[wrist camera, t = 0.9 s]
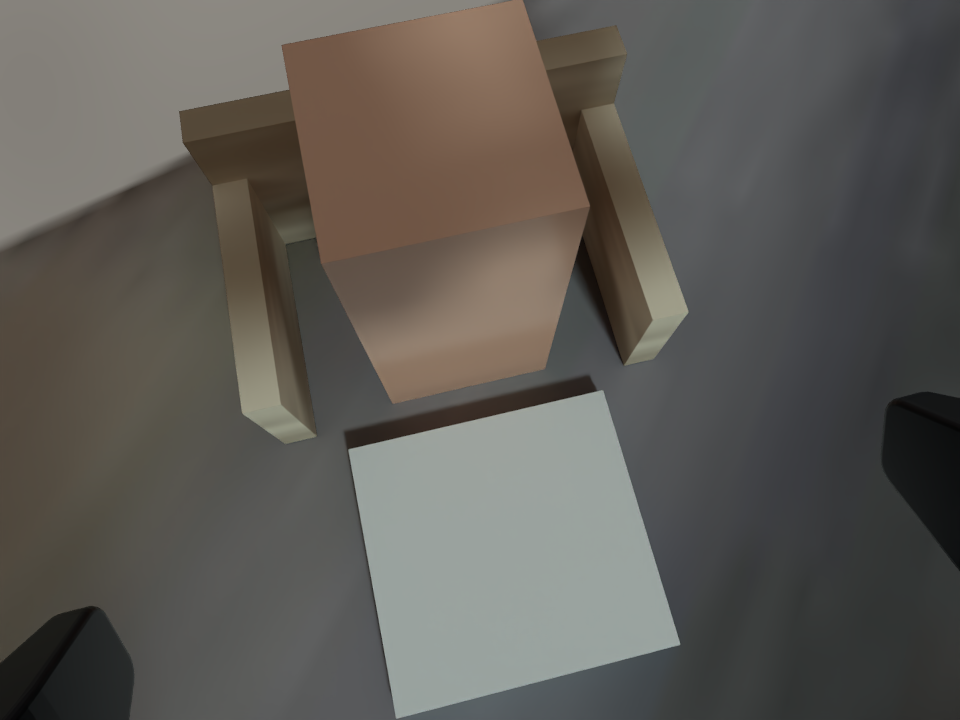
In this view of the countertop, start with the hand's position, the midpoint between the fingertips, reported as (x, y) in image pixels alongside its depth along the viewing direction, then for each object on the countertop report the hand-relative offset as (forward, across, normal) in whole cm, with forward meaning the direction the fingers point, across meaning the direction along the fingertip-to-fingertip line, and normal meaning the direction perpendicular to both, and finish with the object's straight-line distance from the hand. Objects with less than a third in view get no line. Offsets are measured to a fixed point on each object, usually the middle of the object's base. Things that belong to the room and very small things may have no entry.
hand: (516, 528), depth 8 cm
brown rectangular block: (+15, -1, +3) cm, 15 cm away
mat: (+10, 0, +9) cm, 13 cm away
